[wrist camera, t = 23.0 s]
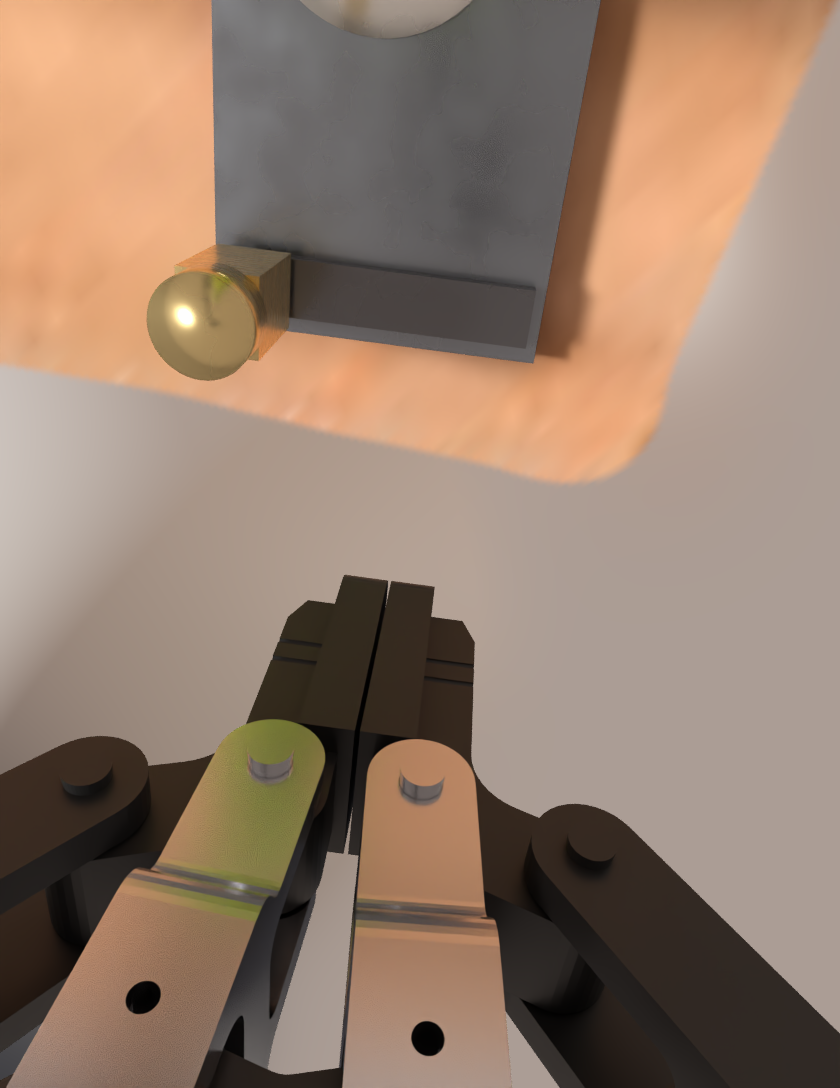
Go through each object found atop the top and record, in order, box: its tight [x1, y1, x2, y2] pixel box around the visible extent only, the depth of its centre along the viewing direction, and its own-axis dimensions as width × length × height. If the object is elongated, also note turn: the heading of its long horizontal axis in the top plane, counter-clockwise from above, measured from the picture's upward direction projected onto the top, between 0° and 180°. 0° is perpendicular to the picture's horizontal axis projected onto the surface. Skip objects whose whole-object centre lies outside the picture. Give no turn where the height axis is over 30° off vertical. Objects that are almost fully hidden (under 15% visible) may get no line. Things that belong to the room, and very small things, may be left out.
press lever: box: [147, 244, 291, 381], centre depth 29 cm, size 4×4×7 cm
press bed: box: [212, 0, 601, 363], centre depth 30 cm, size 21×14×2 cm
